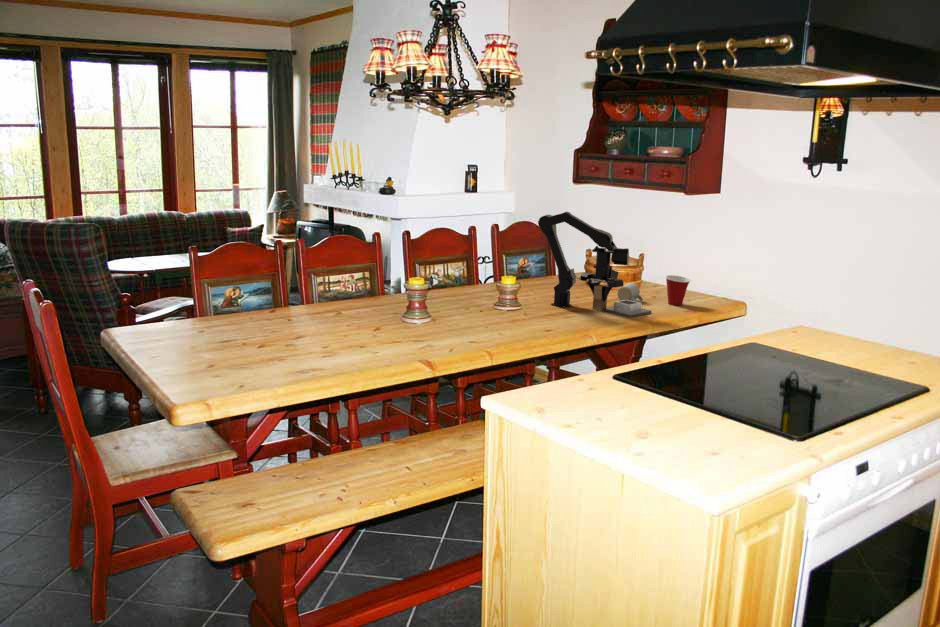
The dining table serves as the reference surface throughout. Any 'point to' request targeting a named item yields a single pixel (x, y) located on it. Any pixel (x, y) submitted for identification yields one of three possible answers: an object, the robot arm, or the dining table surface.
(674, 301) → the plastic cup
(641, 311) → the metal square socket base
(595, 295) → the walnut post
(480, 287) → the dining table surface
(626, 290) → the ceramic mug
